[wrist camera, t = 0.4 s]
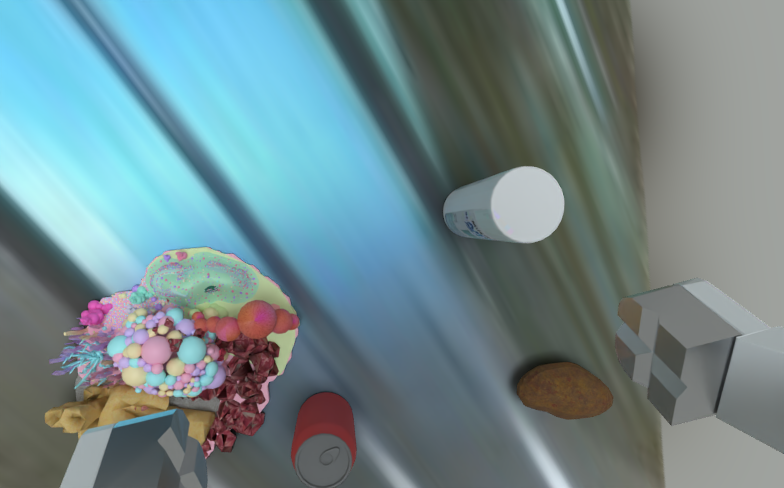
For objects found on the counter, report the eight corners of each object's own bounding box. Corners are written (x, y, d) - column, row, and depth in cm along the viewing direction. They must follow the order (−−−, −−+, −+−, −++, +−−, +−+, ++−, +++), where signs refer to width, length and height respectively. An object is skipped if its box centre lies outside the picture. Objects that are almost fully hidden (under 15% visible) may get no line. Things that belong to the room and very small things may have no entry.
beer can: (364, 419, 63) (371, 464, 51) (321, 456, 62) (319, 510, 50) (329, 379, 62) (328, 415, 50) (286, 415, 62) (274, 460, 50)
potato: (510, 353, 65) (531, 368, 58) (598, 355, 66) (629, 370, 59) (507, 407, 65) (528, 429, 58) (595, 408, 66) (625, 429, 59)
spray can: (501, 197, 64) (576, 184, 44) (481, 246, 64) (547, 255, 44) (453, 176, 63) (508, 153, 43) (432, 226, 63) (478, 225, 43)
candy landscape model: (244, 481, 62) (228, 525, 53) (45, 419, 59) (-8, 455, 50) (318, 284, 62) (316, 294, 53) (123, 213, 59) (84, 211, 50)
